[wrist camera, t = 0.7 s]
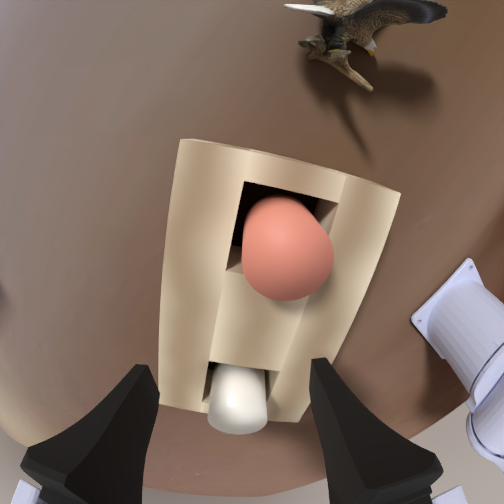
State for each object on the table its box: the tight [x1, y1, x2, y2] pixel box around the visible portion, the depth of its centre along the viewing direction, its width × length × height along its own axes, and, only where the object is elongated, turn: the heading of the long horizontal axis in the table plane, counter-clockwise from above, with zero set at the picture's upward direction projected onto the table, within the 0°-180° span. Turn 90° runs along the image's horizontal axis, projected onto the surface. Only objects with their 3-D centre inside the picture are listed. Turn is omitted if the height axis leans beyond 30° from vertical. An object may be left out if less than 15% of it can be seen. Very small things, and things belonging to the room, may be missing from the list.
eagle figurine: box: [283, 0, 448, 92], centre depth 11 cm, size 8×7×9 cm
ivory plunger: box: [208, 363, 267, 435], centre depth 19 cm, size 4×4×4 cm
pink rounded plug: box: [242, 194, 334, 301], centre depth 14 cm, size 4×4×4 cm
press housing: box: [159, 139, 401, 422], centre depth 19 cm, size 12×20×4 cm, turn 168°
